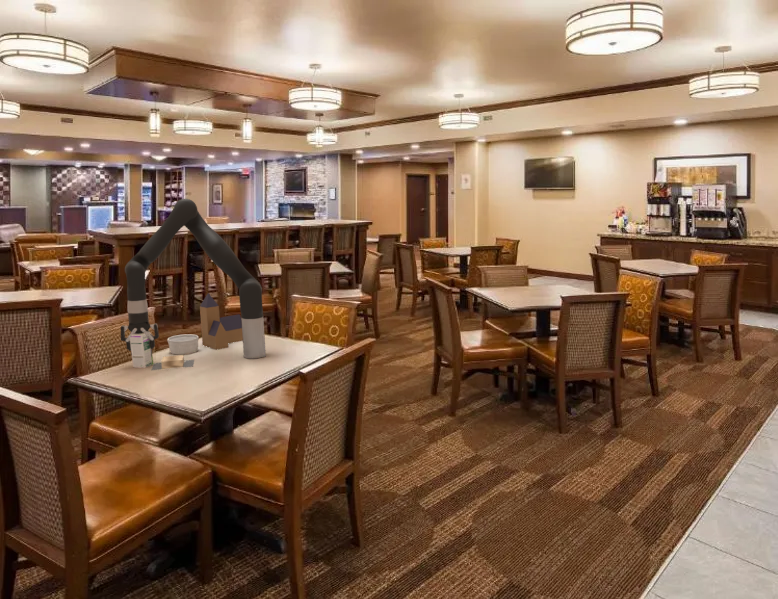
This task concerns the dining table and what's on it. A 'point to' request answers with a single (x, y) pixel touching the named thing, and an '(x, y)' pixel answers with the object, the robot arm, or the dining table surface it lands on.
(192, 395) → the dining table surface
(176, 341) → the ramekin
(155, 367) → the build mat
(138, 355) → the syrup box
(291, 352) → the dining table surface
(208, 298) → the toy church
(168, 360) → the maple slab
